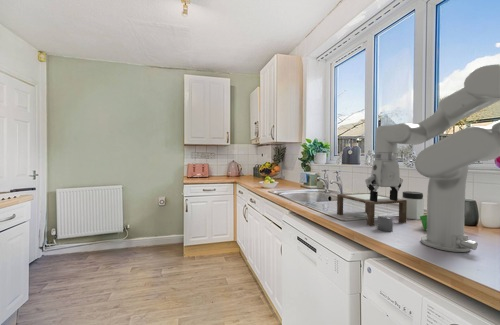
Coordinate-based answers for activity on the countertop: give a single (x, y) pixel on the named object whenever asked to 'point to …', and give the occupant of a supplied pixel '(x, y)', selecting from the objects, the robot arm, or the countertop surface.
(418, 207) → the jar
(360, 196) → the trapdoor
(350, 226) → the countertop surface
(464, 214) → the robot arm
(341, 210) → the trapdoor frame
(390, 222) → the metal canister
